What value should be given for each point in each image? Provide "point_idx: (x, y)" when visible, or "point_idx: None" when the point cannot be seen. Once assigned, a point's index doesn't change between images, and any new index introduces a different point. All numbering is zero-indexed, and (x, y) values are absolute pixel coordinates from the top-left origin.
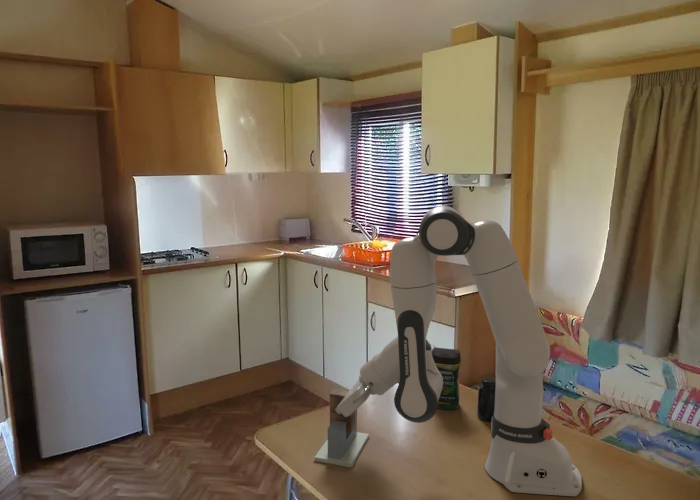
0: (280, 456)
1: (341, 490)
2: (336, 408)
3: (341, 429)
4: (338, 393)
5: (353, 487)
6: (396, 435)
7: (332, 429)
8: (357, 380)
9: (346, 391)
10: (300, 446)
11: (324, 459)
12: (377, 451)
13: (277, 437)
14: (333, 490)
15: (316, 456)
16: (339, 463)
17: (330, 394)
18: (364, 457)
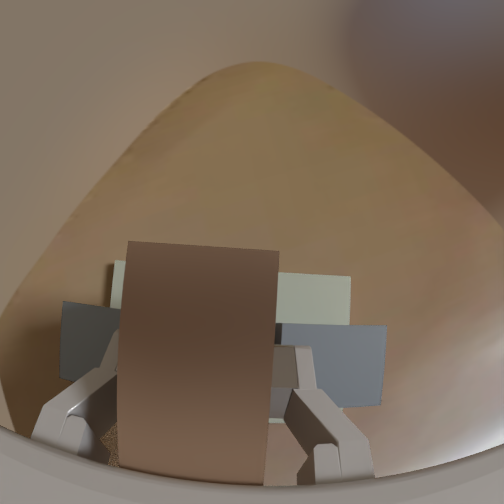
0: (132, 148)
1: (11, 379)
2: (113, 340)
3: (73, 380)
4: (159, 352)
5: (29, 411)
6: None
7: (62, 330)
8: (495, 472)
9: (254, 439)
10: (204, 184)
11: (111, 300)
12: None
13: (246, 100)
14: (6, 357)
15: (120, 266)
16: None
17: (130, 251)
18: None
